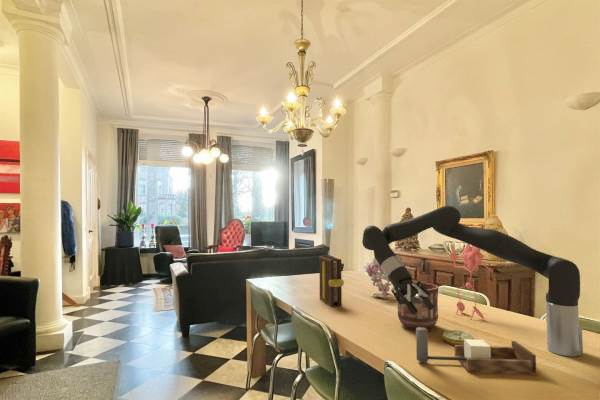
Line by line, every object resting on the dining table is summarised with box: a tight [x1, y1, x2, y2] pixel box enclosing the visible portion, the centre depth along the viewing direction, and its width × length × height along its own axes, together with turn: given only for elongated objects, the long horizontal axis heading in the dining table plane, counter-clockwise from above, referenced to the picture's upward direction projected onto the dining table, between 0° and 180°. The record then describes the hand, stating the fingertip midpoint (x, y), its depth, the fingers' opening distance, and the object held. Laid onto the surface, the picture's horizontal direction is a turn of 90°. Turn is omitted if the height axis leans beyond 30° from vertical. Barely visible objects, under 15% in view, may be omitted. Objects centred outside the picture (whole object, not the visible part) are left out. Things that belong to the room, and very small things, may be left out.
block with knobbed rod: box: [415, 327, 491, 363], centre depth 113 cm, size 22×6×10 cm, turn 84°
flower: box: [362, 257, 393, 299], centre depth 208 cm, size 20×22×25 cm
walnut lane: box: [454, 340, 537, 376], centre depth 112 cm, size 20×12×6 cm, turn 84°
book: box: [318, 255, 345, 308], centre depth 193 cm, size 22×8×25 cm, turn 17°
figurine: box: [449, 243, 493, 324], centre depth 167 cm, size 15×26×35 cm, turn 19°
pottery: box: [397, 281, 440, 331], centre depth 151 cm, size 18×18×18 cm
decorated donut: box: [442, 329, 475, 346], centre depth 132 cm, size 10×11×4 cm
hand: (424, 311), depth 114 cm, fingers open, 8 cm apart
